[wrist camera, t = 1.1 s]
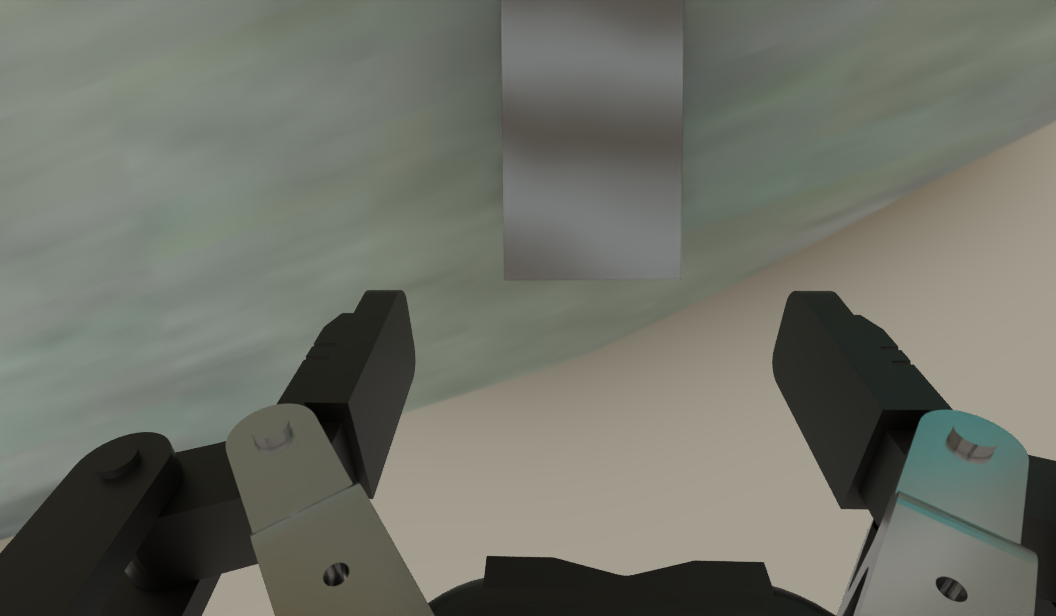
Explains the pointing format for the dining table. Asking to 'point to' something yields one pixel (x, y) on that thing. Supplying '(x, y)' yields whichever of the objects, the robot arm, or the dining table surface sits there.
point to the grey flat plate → (592, 139)
